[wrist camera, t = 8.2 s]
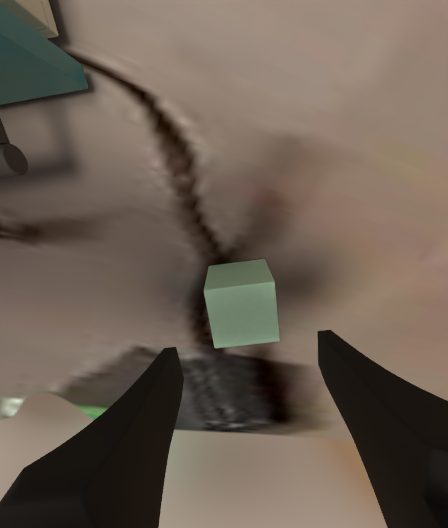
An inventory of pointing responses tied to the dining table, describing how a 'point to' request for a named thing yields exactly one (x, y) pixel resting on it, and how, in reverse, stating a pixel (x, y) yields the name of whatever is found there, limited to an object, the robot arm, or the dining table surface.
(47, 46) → the drawer
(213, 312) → the sage green cube
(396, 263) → the dining table surface
